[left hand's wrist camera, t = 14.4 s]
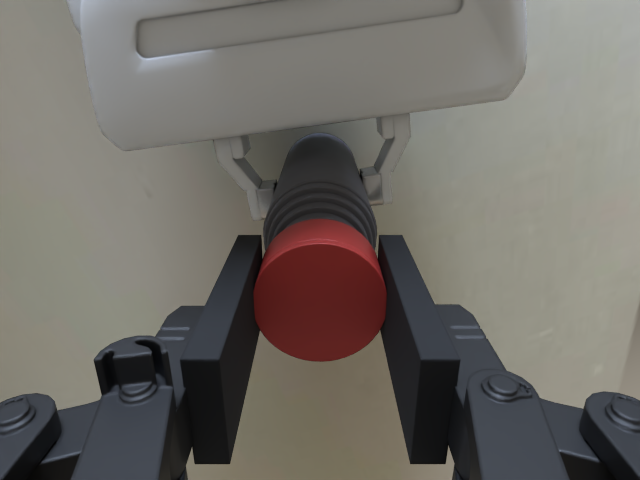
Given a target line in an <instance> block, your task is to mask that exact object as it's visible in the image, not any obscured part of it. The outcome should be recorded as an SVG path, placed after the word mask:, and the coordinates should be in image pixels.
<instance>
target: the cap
mask: <svg viewBox="0 0 640 480" xmlns="http://www.w3.org/2000/svg"><path fill="white" fill-rule="evenodd" d="M253 295H254V311H255V320H256V323H257V325H258V327H259V329H260V330H261V332H262V333H263V335H264V336H265V337H266V338H267V340H268V341H269V342H270V343H272V344H273V345H274V346H275V347H276V348H278V349H279V350H281V351H282V352H284V353H286V354H288V355H290V356H293V357H296V358H299V359H303V360H308V361H320V362H322V361H332V360H338V359H341V358H345V357H347V356H350V355H352V354H354V353H356V352H358V351H359V350H361V349H362V348H364V347H365V346H366V345H368V344H369V343H370V342H371V341H372V340H373V339H374V337H375V336H376V335H377V334H378V332H379V330H380V329H381V327H382V325H383V323H384V320H385V316H386V301H387V290H386V286H385V283H384V279H383V276H382V272H381V269H380V266H379V262H378V259H377V256H376V253H375V251H374V249H373V247H372V246H371V244H370V243H369V241H368V240H367V239H366V238H365V237H364V236H363V235H362V234H361V233H360V232H358V231H357V230H356V229H354V228H352V227H351V226H349V225H347V224H344V223H342V222H338V221H335V220H329V219H310V220H306V221H302V222H299V223H296V224H294V225H292V226H289V227H288V228H286V229H285V230H283V231H282V232H280V233H279V234H278V235H277V236H276V237H275V238H274V239H273V240H272V242H271V243H270V244H269V246H268V248H267V249H266V252H265V254H264V256H263V260H262V263H261V267H260V270H259V273H258V277H257V280H256V283H255V287H254V290H253Z"/></svg>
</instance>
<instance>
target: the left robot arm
mask: <svg viewBox="0 0 640 480" xmlns="http://www.w3.org/2000/svg"><path fill="white" fill-rule="evenodd" d="M262 260H263V259H262V240H261V235H238V237H237V239H236V241H235V243H234V245H233V247H232V250H231V252H230V254H229V256H228V258H227V260H226V262H225V264H224V267H223V269H222V271H221V273H220V275H219V277H218V279H217V281H216V283H215V286H214V288H213V290H212V292H211V294H210V296H209V298H208V300H207V303H206V305H205V306H181V307H179V308H178V309H177V310H175V311H174V312H173V313H171V314H170V315H168V316H167V318H166V320H165V321H164V323H163V325H162V326H161V330H159V331H158V333H157V335H156V336H155V337H153V336H134V337H129V338H124V339H122V340H119V341H117V342H114V343H112V344H110V345H109V346H107V347H106V348H104V349H103V350H101V351H100V352H99V353H98V355H97V356H96V357H95V359H94V363H95V368H96V372H97V376H98V381H99V385H100V389H101V393H102V396H101V399H100V400H99V401H96V402H92V403H89V404H85V405H81V406H76V407H72V408H67V409H63V410H58V411H57V408H56V404H55V401H54V400H53V399H52V398H51V397H49V396H48V395H43V394H38V393H35V394H25V395H20V396H17V397H13V398H10V399H7V400H5V401H3V402H1V403H0V480H188V477H187V471H186V463H187V460H188V457H189V454H190V451H191V448H193V455H194V462H195V464H230V462H231V457H232V453H233V448H234V444H235V439H236V435H237V430H238V426H239V421H240V417H241V412H242V408H243V403H244V399H245V394H246V390H247V386H248V381H249V377H250V372H251V368H252V363H253V359H254V354H255V350H256V345H257V341H258V336H259V332H260V329H259V327H258V325H257V323H256V320H255V311H254V295H253V290H254V287H255V283H256V280H257V277H258V273H259V270H260V267H261V263H262ZM378 262H379V266H380V269H381V272H382V276H383V279H384V283H385V286H386V290H387V301H386V316H385V320H384V323H383V325H382V327H381V329H380V331H381V335H382V340H383V344H384V349H385V353H386V357H387V362H388V366H389V371H390V375H391V380H392V384H393V389H394V393H395V398H396V402H397V407H398V411H399V416H400V420H401V425H402V429H403V433H404V438H405V442H406V447H407V451H408V456H409V460H410V464H446V457H447V450H448V445H449V448H450V451H451V454H452V457H453V460H454V463H455V465H454V471H453V477H452V480H640V401H639V400H637V399H635V398H633V397H630V396H626V395H623V394H620V393H614V392H599V393H594V394H592V395H591V396H589V397H588V398H587V399H586V402H585V406H584V409H581V408H577V407H572V406H568V405H563V404H559V403H554V402H551V401H547V400H544V399H541V398H539V396H538V394H537V392H536V391H535V389H534V388H533V386H532V385H531V384H530V383H528V382H527V381H526V380H524V379H523V378H522V377H520V376H518V375H515V374H513V373H511V372H508V371H506V369H505V367H504V366H503V364H502V362H501V361H500V359H499V357H498V356H497V354H496V352H495V351H494V349H493V347H492V346H491V344H490V342H489V341H488V339H486V336H485V334H484V332H483V331H482V329H480V326H479V324H478V322H477V321H476V319H475V317H474V316H473V314H471V313H470V312H468V311H467V310H466V309H464V308H463V307H462V306H460V305H435V304H434V302H433V300H432V298H431V296H430V293H429V291H428V289H427V287H426V285H425V283H424V281H423V279H422V277H421V274H420V272H419V270H418V268H417V266H416V264H415V262H414V260H413V257H412V255H411V253H410V251H409V249H408V247H407V245H406V243H405V240H404V238H403V236H402V235H379V246H378Z"/></svg>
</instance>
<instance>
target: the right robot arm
mask: <svg viewBox="0 0 640 480" xmlns="http://www.w3.org/2000/svg"><path fill="white" fill-rule="evenodd" d="M66 1H67V4H68V8H69V11H70V14H71V17H72V21H73V23H74V25H75V27H76V29H77V31H78V32H79V33H80V35H81V39H82V47H83V53H84V60H85V67H86V72H87V78H88V83H89V88H90V93H91V97H92V102H93V106H94V110H95V114H96V118H97V121H98V125H99V128H100V130H101V132H102V133H103V135H104V136H105V137H106V138H108V139H109V140H110V141H111V142H112V143H113V144H114V145H116V146H117V147H118V148H119V149H121V150H123V151H132V150H139V149H147V148H154V147H162V146H169V145H176V144H184V143H191V142H198V141H206V140H213V142H214V146H215V151H216V155H217V160H218V163H219V164H220V165H221V166H222V167H223V168H224V169H225V170H226V172H227V173H228V174H229V175H230V176H231V177H232V178H233V179H234V181H235V182H236V183H237V184H238V185H239V186H240V187H241V188H242V190H243V191H246V192H247V197H248V202H249V207H250V212H251V217H252V219H253V221H254V220H262V219H265V218H266V215H267V212H268V209H269V206H270V203H271V200H272V198H273V195H274V192H275V189H276V186H277V180H267V181H262V179H261V178H260V177H259V175H258V174H257V173H256V172H255V170H254V169H253V168H252V167H251V165H250V164H249V163H248V162H247V160H246V159H245V158H244V156H245V155H246V153H247V152H248V151H249V150H250V144H249V138H248V135H250V134H258V133H265V132H272V131H280V130H287V129H294V128H302V127H309V126H317V125H324V124H331V123H339V122H346V121H354V120H361V119H368V118H376V120H377V131H378V132H379V134H380V135H381V136H382V137H383V138H384V139H386V140H385V142H384V144H383V147H382V149H381V151H380V153H379V155H378V158H377V160H376V162H375V164H374V167H368V168H361V169H360V177H361V180H362V183H363V186H364V188H365V191H366V194H367V197H368V200H369V203H370V206H375V205H383V204H392V186H391V172H393V171H394V169H395V167H396V165H397V163H398V161H399V159H400V157H401V155H402V153H403V151H404V149H405V147H406V145H407V143H408V141H409V139H410V137H411V136H410V115H409V113H413V112H420V111H427V110H435V109H442V108H450V107H457V106H464V105H472V104H479V103H486V102H494V101H501V100H505V99H507V98H508V97H509V96H510V95H511V93H512V92H513V91H514V89H515V88H516V86H517V85H518V83H519V82H520V80H521V79H522V77H523V75H524V73H525V67H526V55H527V18H526V0H66Z"/></svg>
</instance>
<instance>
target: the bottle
mask: <svg viewBox="0 0 640 480" xmlns="http://www.w3.org/2000/svg"><path fill="white" fill-rule="evenodd" d="M310 219H329V220H335V221H338V222H342V223H344V224H347V225H349V226H351V227H352V228H354V229H356V230H357V231H358V232H360V233H361V234H362V235H363V236H364V237H365V238H366V239H367V240H368V241H369V243H370V244H371V246H372V247H373V249H374V251H375V247H376V238H377V226H376V221H375V217H374V214H373V211H372V209H371V206H370V203H369V200H368V197H367V194H366V191H365V188H364V186H363V183H362V180H361V177H360V174H359V171H358V168H357V166H356V163H355V160H354V157H353V154H352V152H351V150H350V149H349V147H348V146H347V145H346V144H345V143H344V142H343V141H342V140H341V139H339V138H337V137H335V136H333V135H330V134H326V133H314V134H310V135H307V136H305V137H303V138H301V139H300V140H298V141H297V142H296V143H295V144H294V145H293V147H292V148H291V149H290V151H289V153H288V155H287V158H286V161H285V164H284V166H283V169H282V172H281V175H280V178H279V181H278V183H277V186H276V189H275V192H274V195H273V198H272V200H271V203H270V206H269V209H268V212H267V215H266V218H265V221H264V228H263V237H264V245H265V250H266V249H267V248H268V246H269V244H270V243H271V242H272V240H273V239H274V238H275V237H276V236H277V235H278V234H279V233H280V232H282V231H283V230H285V229H286V228H288V227H289V226H292V225H294V224H296V223H299V222H302V221H306V220H310Z"/></svg>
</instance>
